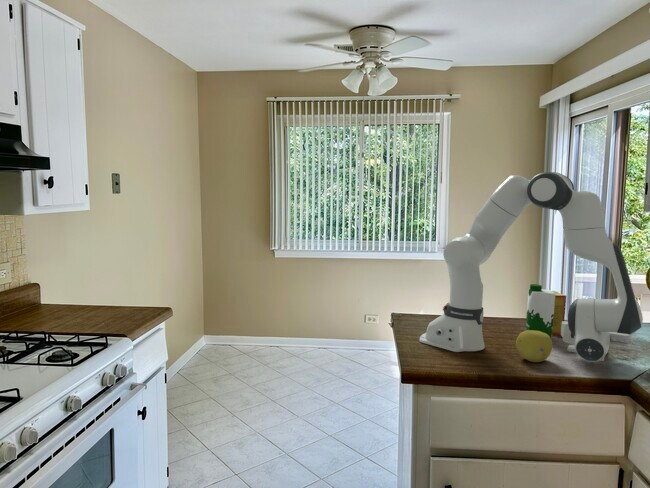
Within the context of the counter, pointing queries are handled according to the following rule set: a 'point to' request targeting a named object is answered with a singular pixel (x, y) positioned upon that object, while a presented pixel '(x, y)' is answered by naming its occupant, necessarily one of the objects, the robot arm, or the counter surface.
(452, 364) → the counter surface
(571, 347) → the tee board
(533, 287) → the milk carton
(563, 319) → the baking soda box
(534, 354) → the fruit
